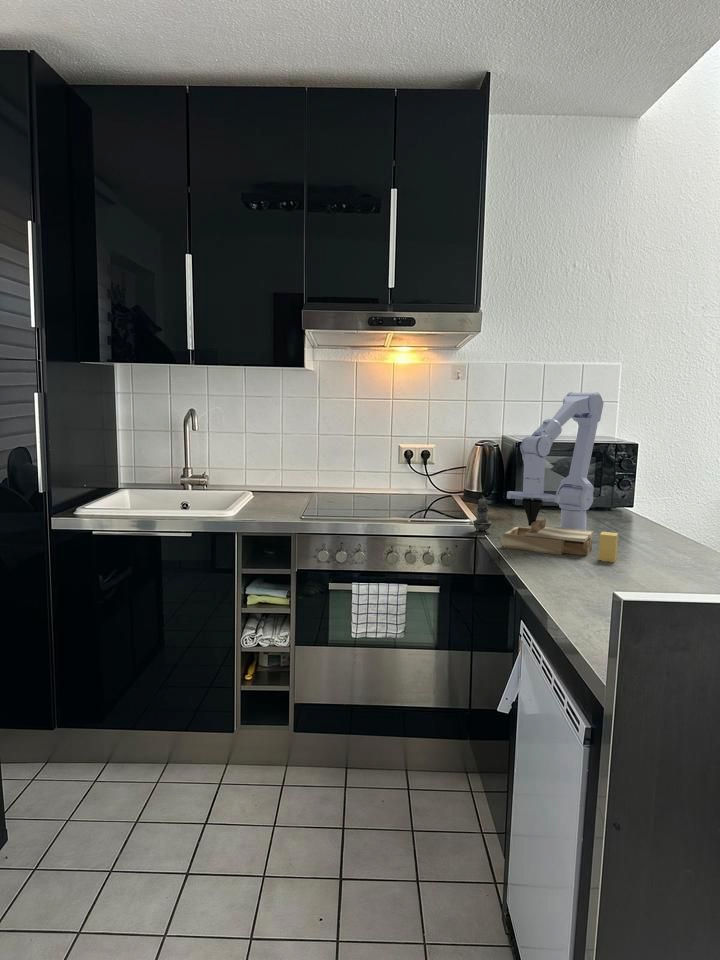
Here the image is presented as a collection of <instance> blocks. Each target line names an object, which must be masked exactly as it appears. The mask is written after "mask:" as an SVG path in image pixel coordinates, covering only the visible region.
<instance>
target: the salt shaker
mask: <svg viewBox="0 0 720 960" xmlns="http://www.w3.org/2000/svg"><path fill="white" fill-rule="evenodd" d="M476 511H477V516H476V519H475V520H472V523H473V527H474V529H475V530H474V531H473V534H475V535H480V536H481V535H482V536H487V535H490V534H491V531H488V530H489V529H490V527H491V525H492V521H491V520H489V519H488V518H489V517H488V512H489V509H488V499H487V498H485V496H484V495H482V496H481V498H479V499H477V509H476Z"/></svg>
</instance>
